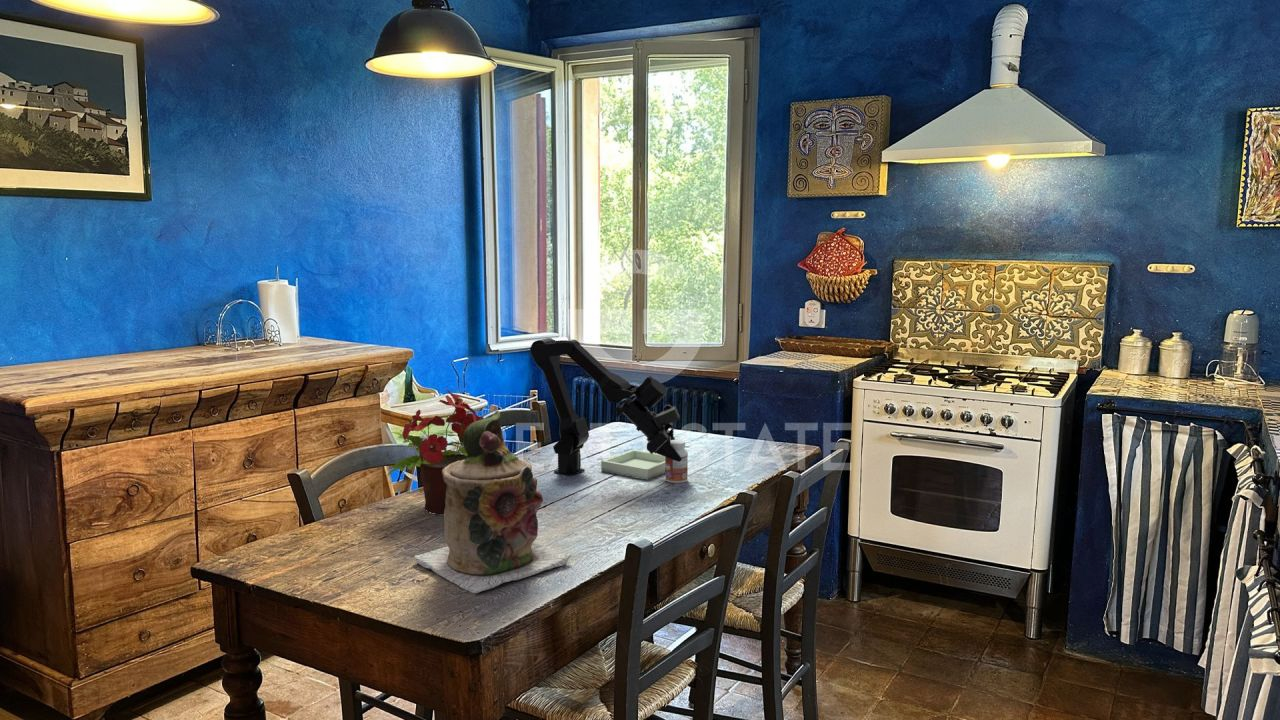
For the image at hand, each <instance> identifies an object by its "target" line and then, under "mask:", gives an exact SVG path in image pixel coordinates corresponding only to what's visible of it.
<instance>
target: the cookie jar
mask: <svg viewBox="0 0 1280 720" xmlns="http://www.w3.org/2000/svg"><path fill="white" fill-rule="evenodd" d="M500 419H501V412H500V411H499V410H496V411H494V413H493V415H492V416H490V417H487V418H484V419H482V420H479V421H476V422H473V423H472V424H470V425H469V426H468V427H467V428H466V430H465V432H464V435H463V436H462V438H463V439H462V442H463V445H462V446H463V447H464V448H465V450H466V453H467V454H468V455H467V457H466V459H465V460H461V461H457V462H454V463H451V464H449V465H448V466H447V467H445V468H444V469H443V470H442V474H443V479H444V481H445V483H446V484H447V489H446V500H445V504H446V506H445V511H444V515H443V518H444V520H443V521H444V523H443V525H444V526H443V527H444V535H443V537H444V541H445V544H446V546H445V547H444V546H443V547H441V548H437V549H433V550H432V551H427V552H424V553H421V554H415V555H414V559H415V561H416V562H417V563H418V564H419V565H420V566H421V567H422V568H426V569H429V570H431V571H432V572H433V573H435V574H436V575H438V576H440V577H442V578H444V579H445V580H446V581H448V582H451V583H453V584H454V585H456V586H459V587H460V588H461V589H463V590H465V591H468V592H469V593H472V594H475V595H476V594H479V593H480V592H483V591H487V590H491V589H493V588H496V587H498V586H501V584H503V583H509V582H511V581H519V580H521V579H525V578H527V577H531V576H533V575H537V574H540V573H543V572H546V571H548V570H552V569H553V568H554V569H555V568H557V567H563V566H565V565H566V564H568V562H569V560H570V558H571V557H572V553H569V552H566V551H563V550H560V549H559V550H558V549H555V548H554V549H553V548H550V547H547V546H546V545H544V544H542V543H539V542H537V541H536V539H537V538H538V534H539V533H538V531H539V521H538V517H537V516H538V515H537V513H538V512H539V510H540V508H541V506H542V504H543V502H544V496H543V494H542V493H541V492H540V491H538V490H537V487H538V479H537V478H536V477H534V474H533V471H532V470H533V469H532V468H533V466H532V465H531V464H530V463H529V462H528V461H525V460H522V459H520V458H519V457H517V455H516V454H515V453H513V452H511V451H510V450H509V448H508V446H507V445H506V443H505V439H504V435H503V430H502V427H501V426H502V424H501V422H500Z"/></svg>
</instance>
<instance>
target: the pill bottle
mask: <svg viewBox="0 0 1280 720" xmlns="http://www.w3.org/2000/svg"><path fill="white" fill-rule="evenodd" d="M671 444H672V446H673V447H674V449H675V450H676V451H677V453H678V454H679V455H680V457H681V458H682V460H681V461H680V462H678V461H675V460H673V459H670V458H668V457H665V473H664V476H665V477H664V479H665V481H666V482H668V483H669V484H683V483H685V482H687V481H688V473H689V471H688V470H689V469H688V467H689V466H688V464H689V463H688V462H689V460H688V459H689V458H688V457H689V455H688V451H687V449H686V442H685V440H682V439H675V440H671Z"/></svg>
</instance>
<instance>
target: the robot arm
mask: <svg viewBox="0 0 1280 720" xmlns="http://www.w3.org/2000/svg"><path fill="white" fill-rule="evenodd" d="M529 353H530V355H531V357H532V359H533V361H534V363H535V364H536V366H537V367H538V368H539V369H540V370H541V371H542V372H543V374H544V377H545V381H546V383H547V386H548V389H549V391H550V394H551V397H552V399H553V404H554V406H555V409H556V411H557V412H556V413H557V415H558V417H559V429H558V430H559V437H560V439H559V440H558V441H557V442H556V443H555V444H554V445H553V446H552V449H553V452H554V453H555V454H557V469H555V470H553V473H556V474H561V475H566V476H573V475H576V474H580V473H583V472H585V469H584V468H582V463H581V462H582V460H581V457H582V455H581V449H583V448H584V444H586V443H587V442H588V440H589V438H590V433H589V431H591V429H590V428H589V427H588V423H587V419H586V417H584V416H583V417H581V418H580V416H579V415H578V414H577V413H576V410H575V408H574V404H573V402H572V399H571V396H570V393H569V390H568V387H567V385H566V381H565V379H564V376H563V374H562V370H561V367H560V364H561V363H560V361H561V356H563V355H564V356H568V357H569V358H570V359H571V360H572V361H573V362H574V363H575V364H576V365H577V366H579V367H580V368H581V370H583V371H584V372H585V373H586V374H587V375H588V376H589V377H590V378H591V379H592V380H593V381H595V383H596V384H597V385H598V388H599V390H600V392H601V393H602V394H603V395H604V397H605V398H606V400H607V401H608V402H610V403H612V404H618V403H620V402H623V401H624V403H622V404H618V405H616V407H615V411H616V412H615V417H616V418H619V417H620V416H621V415H624V416H625V417H626V418H627V419H628V420H629V421H630V422H631V423H632V424H633V425H634V426H635V427H636V428H635V430H636V431H638V432H641V434H643V436H645V437H646V441H647V444H646V450H647V452H650V453H651V454H653V453H655V454H660V455H662V456H665V457H668V458H670V459H673V460H675V461H678V462H680V461H681V460H682V458H681V457H680V455H679V454H678V453H677V451H676V450H675V449H674V447H673V446H672V444H671V440H676V437H674V436H675V435H674V431H675V430H674V427H673V426H674V423H675V422H677V421H679V420H680V417H681V415H680V414H679V411H678V408H677V407H676V406H675V405H674V406H672V405H671V404H666V405H664V406H663V410H662V411H661V412H660V413H656V412H655V411H650V410H649V408H653V407H654V406H656V404H658V403H659V402H660V401H661V400H662V399H663V398H664V397H665V396H667V394H668V390H667V388H666V387H665V386H664V384H663V383H662V382H660V381H658V379H655V378H654V377H653V376H651V375H649V376H647V377H646V378H645V379H644V381H643V382H642V383H641V384H640V385H639V386H638V385H634V384H631V383H630V382H628V381H627V380H626V379H624V378H623V377H621V375H618V374H615V373H613V372H611V371H610V370H608V369H607V368H606V367H605V366H604V365H603V364H602V363H601V362H600V361H599V360H598V359H597V358H595V357H594V356H593V355H592V354H591V353H590V352H589V351H588V350H587V349H586V348H584V347H583V346H582V345H581V344H580V342H579V341H578V340H577V339H573V338H572V339H569V340H567V339H566V340H564V339H563V340H555V339H553V338H551V337H547V338H542V339H538V340H534V341H533V342H532V344H531V346H530V348H529ZM634 396H636V397H634ZM632 397H634V398H633V399H629V398H632ZM670 428H671V429H670Z"/></svg>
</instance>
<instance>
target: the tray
mask: <svg viewBox="0 0 1280 720" xmlns="http://www.w3.org/2000/svg"><path fill="white" fill-rule="evenodd" d="M600 462H601V463H600V464H601V465H600V468H601V472H603V471H605V472H604V473H609V472H610V473H609V474H614V473H616V474H615V475H619V474H620V475H619V476H624V475H626V476H625V477H629V476H632V477H631V478H635V477H638V478H637V479H640V478H642V479H641V480H645V479H646V481H648V480H650V478H651V479H654V478H655V477H656V478H657V476H660V474H661V475H663V474H665V456H662V455H660V454H657V453H656V454H655V453H653V454H651V453H650V452H649V451H643V450H639V449H638V450H637V449H631V450H628V451H626V452H623V453H620V454H617V455H614V456H611V457H609V458H606V459H603V460H601V461H600Z"/></svg>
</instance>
